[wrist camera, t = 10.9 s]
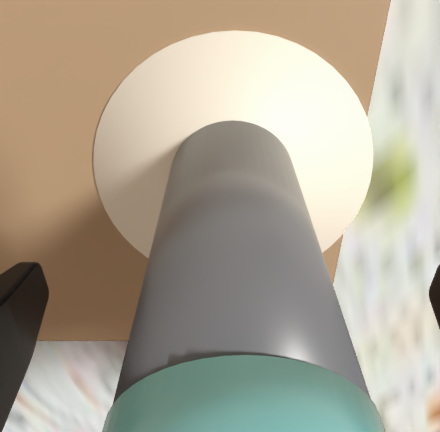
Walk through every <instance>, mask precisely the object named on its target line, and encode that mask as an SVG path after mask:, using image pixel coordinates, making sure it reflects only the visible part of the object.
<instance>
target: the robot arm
mask: <svg viewBox="0 0 440 432" xmlns="http://www.w3.org/2000/svg"><path fill="white" fill-rule="evenodd" d="M48 298H49V288H48V285H47V282H46V279H45V276H44V272H43V269H42V267H41V265H40V264H39V263H38V262H19V263H17V264H16V265H14V266H12V267H11V268H9V269H8V270H6V271H5V272H3V273H2V274H0V432H2V430H3V428H4V425H5V423H6V420H7V418H8V415H9V413H10V411H11V408H12V406H13V403H14V401H15V398H16V396H17V393H18V391H19V388H20V386H21V384H22V381H23V379H24V376H25V374H26V371H27V369H28V366H29V364H30V361H31V358H32V355H33V352H34V348H35V345H36V341H37V338H38V334H39V331H40V327H41V324H42V320H43V316H44V313H45V309H46V306H47V302H48ZM429 298H430V302H431V305H432V308H433V311H434V314H435V317H436V320H437V323H438V326H439V328H440V265H439V266H438V268H437V270H436V273H435V276H434V278H433V281H432V283H431V286H430V289H429Z"/></svg>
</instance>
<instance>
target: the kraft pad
mask: <svg viewBox="0 0 440 432" xmlns="http://www.w3.org/2000/svg"><path fill="white" fill-rule="evenodd" d="M390 1H391V0H0V274H2V273H3V272H5V271H6V270H8V269H9V268H11V267H12V266H14V265H16V264H17V263H19V262H38V263H39V264H40V265H41V267H42V269H43V272H44V276H45V279H46V282H47V285H48V288H49V298H48V302H47V306H46V309H45V313H44V316H43V320H42V324H41V327H40V331H39V334H38V338H37V341H129V337H130V332H131V328H132V324H133V320H134V316H135V312H136V308H137V304H138V300H139V296H140V292H141V288H142V284H143V280H144V275H145V271H146V267H147V263H148V259H149V255H150V251H151V247H152V243H153V239H154V235H155V231H156V227H157V223H158V218H159V214H160V210H161V206H162V202H163V198H164V194H165V190H166V186H167V182H168V178H169V174H170V170H171V165H172V162H173V159H174V156H175V154H176V152H177V150H178V149H179V147H180V146H181V144H182V143H183V142H184V141H185V140H186V139H187V138H188V137H189V136H190V135H191V134H193V133H194V132H196V131H197V130H199V129H201V128H203V127H205V126H207V125H210V124H213V123H216V122H221V121H231V120H234V121H244V122H249V123H253V124H256V125H258V126H261V127H263V128H265V129H266V130H268V131H269V132H271V133H272V134H274V135H275V136H276V137H277V138H278V139H279V140H280V141H281V142H282V144H283V145H284V146H285V148H286V150H287V151H288V153H289V156H290V158H291V161H292V164H293V167H294V170H295V173H296V176H297V179H298V182H299V185H300V188H301V191H302V194H303V197H304V200H305V203H306V206H307V209H308V212H309V215H310V218H311V221H312V224H313V227H314V230H315V233H316V236H317V239H318V242H319V245H320V248H321V251H322V254H323V257H324V260H325V263H326V266H327V269H328V272H329V275H330V278H331V281H332V284H333V282H334V277H335V272H336V267H337V262H338V257H339V252H340V247H341V242H342V237H343V233H344V232H345V231H346V229H347V228H348V227H349V226H350V224H351V223H352V221H353V220H354V218H355V217H356V215H357V213H358V212H359V210H360V208H361V206H362V203H363V201H364V199H365V197H366V194H367V191H368V187H369V184H370V181H371V174H372V168H373V143H372V136H371V130H370V126H369V123H368V120H367V114H368V110H369V105H370V100H371V95H372V90H373V85H374V80H375V75H376V70H377V65H378V60H379V55H380V51H381V46H382V41H383V36H384V31H385V26H386V21H387V16H388V11H389V6H390Z"/></svg>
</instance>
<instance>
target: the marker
mask: <svg viewBox="0 0 440 432" xmlns="http://www.w3.org/2000/svg"><path fill="white" fill-rule="evenodd" d="M102 432H385V429H384V426H383V423H382V420H381V417H380V414H379V412H378V410H377V408H376V406H375V404H374V403H373V401H372V400H371V399H370V396H369V393H368V390H367V387H366V384H365V380H364V377H363V374H362V371H361V368H360V365H359V362H358V359H357V356H356V353H355V350H354V347H353V344H352V341H351V338H350V335H349V332H348V329H347V326H346V323H345V320H344V317H343V314H342V311H341V308H340V305H339V302H338V299H337V296H336V293H335V290H334V287H333V284H332V281H331V278H330V275H329V272H328V269H327V266H326V263H325V260H324V257H323V254H322V251H321V248H320V245H319V242H318V239H317V236H316V233H315V230H314V227H313V224H312V221H311V218H310V215H309V212H308V209H307V206H306V203H305V200H304V197H303V194H302V191H301V188H300V185H299V182H298V179H297V176H296V173H295V170H294V167H293V164H292V161H291V158H290V156H289V153H288V151H287V150H286V148H285V146H284V145H283V144H282V142H281V141H280V140H279V139H278V138H277V137H276V136H275V135H274V134H272V133H271V132H269V131H268V130H266V129H265V128H263V127H261V126H258V125H256V124H253V123H249V122H244V121H234V120H231V121H221V122H216V123H213V124H210V125H207V126H205V127H203V128H201V129H199V130H197V131H196V132H194V133H193V134H191V135H190V136H189V137H188V138H187V139H186V140H185V141H184V142H183V143H182V144H181V146H180V147H179V149H178V150H177V152H176V154H175V156H174V159H173V162H172V165H171V170H170V174H169V178H168V182H167V186H166V190H165V194H164V198H163V202H162V206H161V210H160V214H159V218H158V223H157V227H156V231H155V235H154V239H153V243H152V247H151V251H150V255H149V259H148V263H147V267H146V271H145V275H144V280H143V284H142V288H141V292H140V296H139V300H138V304H137V308H136V312H135V316H134V320H133V324H132V328H131V332H130V337H129V341H128V345H127V349H126V353H125V357H124V361H123V365H122V369H121V373H120V377H119V381H118V385H117V389H116V394H115V398H114V402H113V405H112V407H111V409H110V410H109V412H108V414H107V417H106V420H105V424H104V428H103V431H102Z"/></svg>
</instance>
